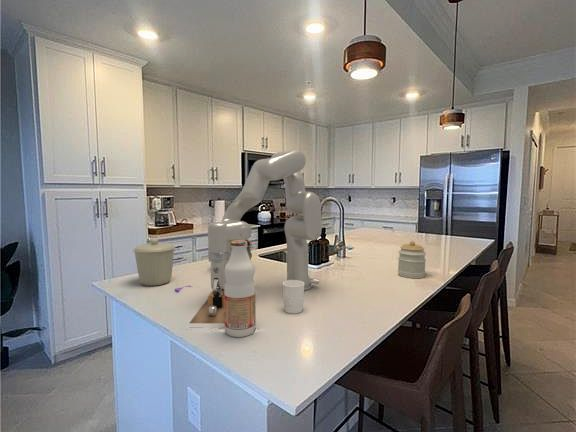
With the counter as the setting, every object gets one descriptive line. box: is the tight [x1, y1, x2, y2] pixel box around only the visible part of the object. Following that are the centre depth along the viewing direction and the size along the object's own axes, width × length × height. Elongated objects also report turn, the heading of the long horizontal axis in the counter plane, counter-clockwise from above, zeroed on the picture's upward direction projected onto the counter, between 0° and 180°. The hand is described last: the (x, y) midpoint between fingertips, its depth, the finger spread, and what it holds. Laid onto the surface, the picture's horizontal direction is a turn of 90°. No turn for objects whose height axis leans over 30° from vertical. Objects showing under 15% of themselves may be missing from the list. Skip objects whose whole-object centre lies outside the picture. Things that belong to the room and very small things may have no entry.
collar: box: [207, 289, 225, 307], centre depth 118 cm, size 7×7×4 cm
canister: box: [132, 237, 176, 287], centre depth 148 cm, size 18×18×21 cm
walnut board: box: [189, 298, 225, 329], centre depth 112 cm, size 12×23×2 cm, turn 179°
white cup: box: [282, 280, 305, 314], centre depth 115 cm, size 8×8×10 cm
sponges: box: [174, 284, 193, 293], centre depth 135 cm, size 7×13×2 cm, turn 43°
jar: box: [397, 240, 427, 279], centre depth 161 cm, size 13×13×18 cm
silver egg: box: [209, 306, 217, 317], centre depth 107 cm, size 2×2×3 cm
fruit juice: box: [224, 240, 257, 338], centre depth 98 cm, size 9×9×28 cm
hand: (220, 303), depth 118 cm, fingers closed on collar, 7 cm apart
